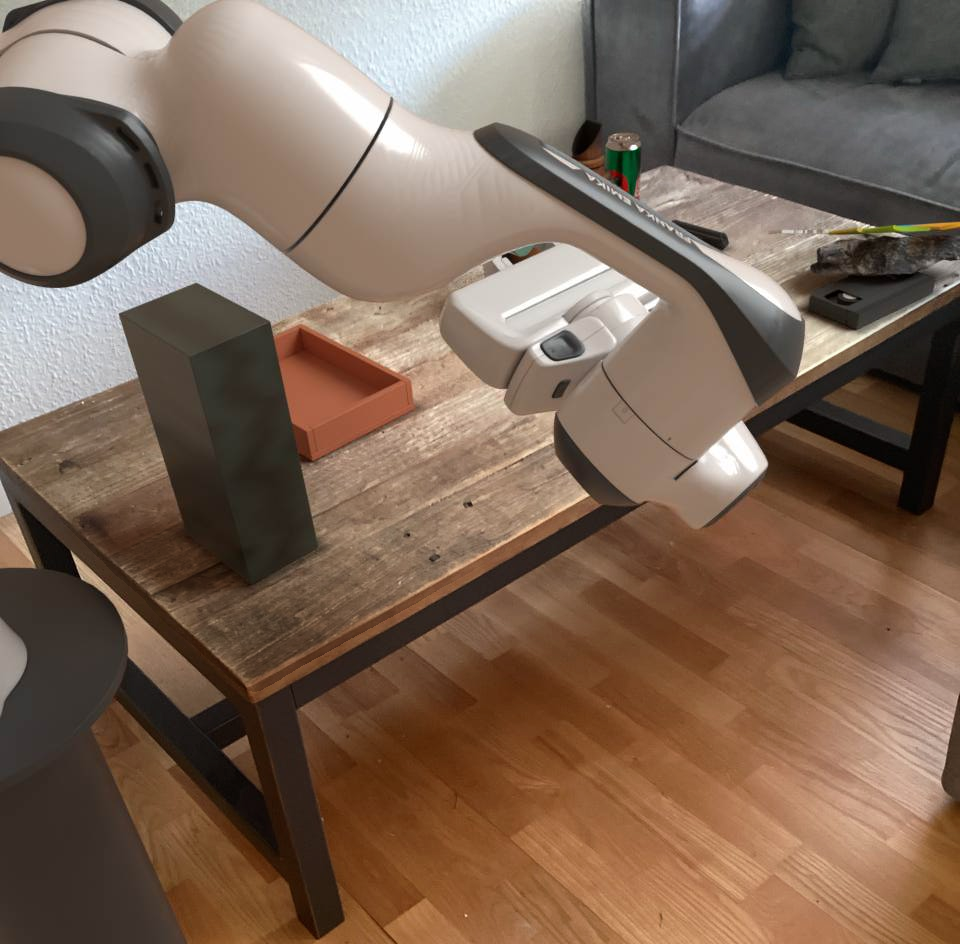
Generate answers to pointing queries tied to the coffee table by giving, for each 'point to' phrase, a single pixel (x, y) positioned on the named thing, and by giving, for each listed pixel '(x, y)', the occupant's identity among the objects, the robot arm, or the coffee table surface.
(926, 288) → the vhs tape
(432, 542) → the coffee table surface
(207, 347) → the stand
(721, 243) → the usb stick
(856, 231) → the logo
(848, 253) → the rock
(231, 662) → the coffee table surface
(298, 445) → the tray
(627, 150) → the soda can
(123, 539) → the coffee table surface
